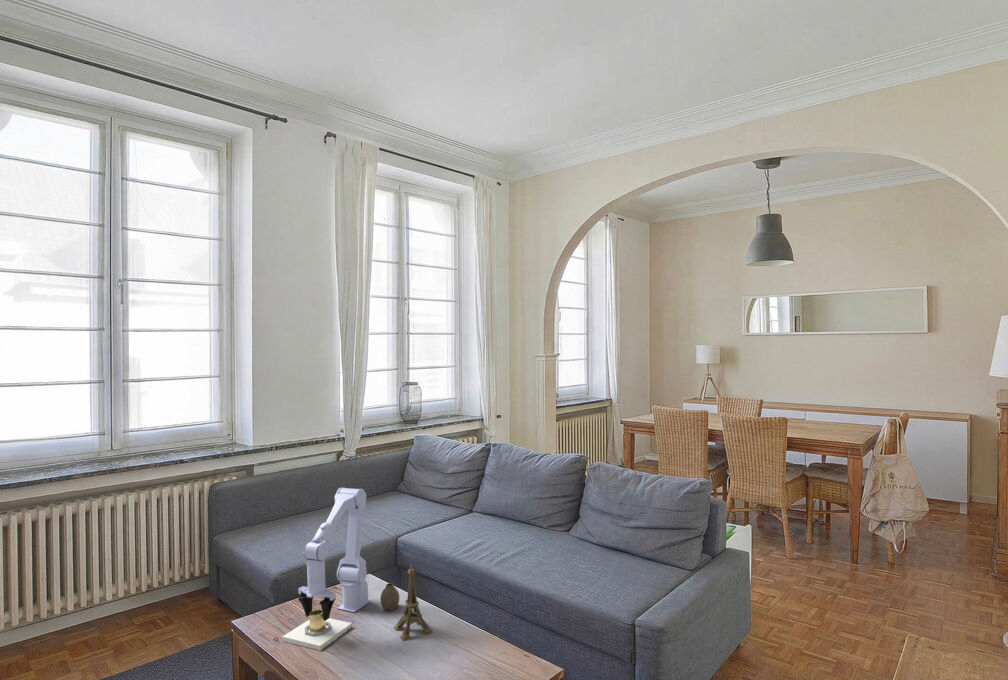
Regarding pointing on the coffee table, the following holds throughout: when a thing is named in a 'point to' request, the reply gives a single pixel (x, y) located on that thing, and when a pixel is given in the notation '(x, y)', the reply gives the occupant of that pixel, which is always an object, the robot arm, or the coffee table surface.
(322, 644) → the post board
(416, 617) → the eiffel tower
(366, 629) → the coffee table surface
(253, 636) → the coffee table surface
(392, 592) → the vase
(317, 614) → the collar
